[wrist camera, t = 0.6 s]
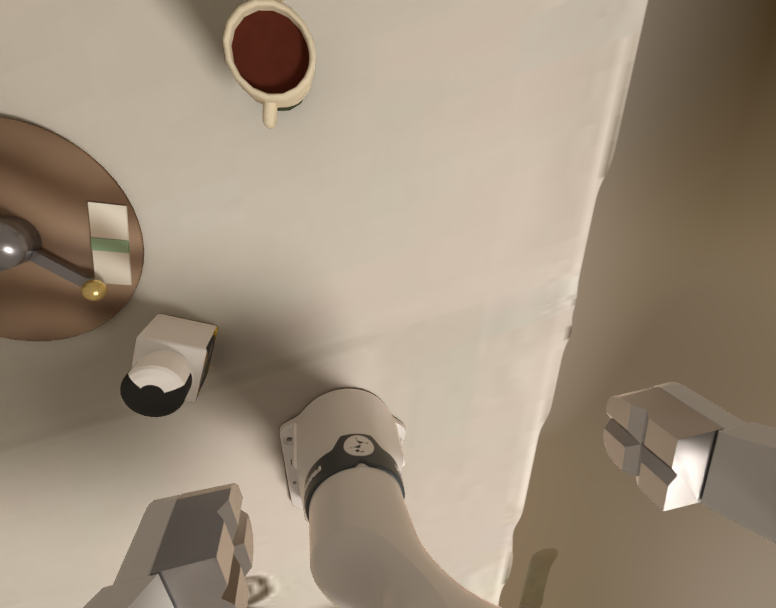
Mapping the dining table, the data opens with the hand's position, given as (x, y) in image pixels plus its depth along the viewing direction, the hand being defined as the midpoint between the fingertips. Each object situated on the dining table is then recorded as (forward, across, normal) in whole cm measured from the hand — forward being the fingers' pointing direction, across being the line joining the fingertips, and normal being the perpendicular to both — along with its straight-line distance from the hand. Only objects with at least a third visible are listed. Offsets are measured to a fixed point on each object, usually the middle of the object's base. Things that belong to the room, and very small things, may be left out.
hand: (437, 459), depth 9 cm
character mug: (+44, -3, +14) cm, 46 cm away
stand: (+44, -33, +1) cm, 55 cm away
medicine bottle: (+44, -20, -14) cm, 51 cm away
